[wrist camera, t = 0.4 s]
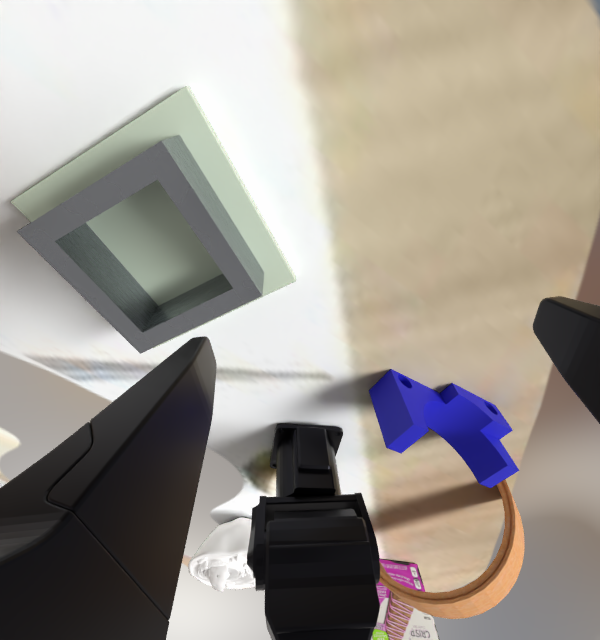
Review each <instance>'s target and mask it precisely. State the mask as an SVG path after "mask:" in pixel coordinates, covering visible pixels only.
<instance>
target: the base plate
mask: <svg viewBox="0 0 600 640" xmlns="http://www.w3.org/2000/svg"><path fill="white" fill-rule="evenodd" d="M177 135H180V136H181V138H182V139H183V141H184V143H185V144H186V146H187V148H188V149H189V151H190V152H191V154H192V156H193V157H194V159H195V161H196V162H197V164H198V165H199V167H200V169H201V170H202V172H203V174H204V175H205V177H206V178H207V180H208V182H209V183H210V185H211V187H212V188H213V190H214V191H215V193H216V195H217V196H218V198H219V199H220V201H221V203H222V204H223V206H224V208H225V209H226V211H227V212H228V214H229V216H230V217H231V219H232V221H233V222H234V224H235V225H236V227H237V229H238V230H239V232H240V234H241V235H242V237H243V238H244V240H245V242H246V243H247V245H248V247H249V248H250V250H251V251H252V253H253V255H254V256H255V258H256V260H257V261H258V263H259V264H260V266H261V268H262V269H263V271H264V283H263V294H262V296H261V297H263V296H265V295H268V294H270V293H272V292H274V291H276V290H278V289H280V288H282V287H285V286H287V285H289V284H291V283H293V282H295V281H296V278H295V274H294V273H293V271H292V269H291V267H290V266H289V264H288V262H287V260H286V258H285V257H284V255H283V253H282V251H281V249H280V248H279V246H278V244H277V242H276V241H275V239H274V237H273V235H272V233H271V232H270V230H269V228H268V226H267V224H266V223H265V221H264V219H263V217H262V216H261V214H260V212H259V210H258V208H257V207H256V205H255V203H254V201H253V200H252V198H251V196H250V194H249V192H248V191H247V189H246V187H245V185H244V183H243V182H242V180H241V178H240V176H239V175H238V173H237V171H236V169H235V167H234V166H233V164H232V162H231V160H230V158H229V157H228V155H227V153H226V151H225V150H224V148H223V146H222V144H221V142H220V141H219V139H218V137H217V135H216V133H215V132H214V130H213V128H212V126H211V125H210V123H209V121H208V119H207V117H206V116H205V114H204V112H203V110H202V109H201V107H200V105H199V103H198V101H197V100H196V98H195V96H194V94H193V92H192V91H191V89H190V87H187V86H185V87H184V88H182V89H181V90H179V91H178V92H176V93H175V94H173V95H171V96H170V97H168V98H167V99H165V100H164V101H162V102H161V103H159V104H158V105H156V106H155V107H153V108H152V109H150V110H149V111H147V112H146V113H144V114H143V115H141V116H140V117H138V118H137V119H135V120H133V121H132V122H130V123H129V124H127V125H126V126H124V127H123V128H121V129H120V130H118V131H117V132H115V133H114V134H112V135H111V136H109V137H108V138H106V139H105V140H103V141H102V142H100V143H98V144H97V145H95V146H94V147H92V148H91V149H89V150H88V151H86V152H85V153H83V154H82V155H80V156H79V157H77V158H76V159H74V160H73V161H71V162H70V163H68V164H67V165H65V166H64V167H62V168H60V169H59V170H57V171H56V172H54V173H53V174H51V175H50V176H48V177H47V178H45V179H44V180H42V181H41V182H39V183H38V184H36V185H35V186H33V187H32V188H30V189H29V190H27V191H25V192H24V193H22V194H21V195H19V196H18V197H16V198H15V199H13V200H12V201H11V202H12V203H13V204H14V206H15V207H16V208H17V209H18V210H19V211H20V212H21V213H22V214H23V215H24V216H25V217H26V218H27V219H28V220H29V221H30V222H33V221H34V220H36V219H37V218H39V217H41V216H42V215H44V214H45V213H47V212H49V211H50V210H52V209H53V208H55V207H57V206H58V205H60V204H61V203H63V202H65V201H66V200H68V199H69V198H71V197H72V196H74V195H76V194H77V193H79V192H80V191H82V190H84V189H85V188H87V187H88V186H90V185H92V184H93V183H95V182H96V181H98V180H100V179H101V178H103V177H104V176H106V175H108V174H109V173H111V172H112V171H114V170H115V169H117V168H119V167H120V166H122V165H123V164H125V163H127V162H128V161H130V160H131V159H133V158H135V157H136V156H138V155H139V154H141V153H143V152H144V151H146V150H147V149H149V148H151V147H152V146H154V145H155V144H157V143H158V142H160V141H162V140H165V139H168V138H171V137H174V136H177ZM86 224H87V225H88V226H89V227H90V228H91V229H92V230H93V232H94V233H95V234H96V235H97V236H98V237H99V238H100V240H101V241H102V242H103V243H104V244H105V245H106V246H107V248H108V249H109V250H110V251H111V252H112V253H113V254H114V256H115V257H116V258H117V259H118V260H119V261H120V262H121V264H122V265H123V266H124V267H125V268H126V269H127V270H128V272H129V273H130V274H131V275H132V276H133V277H134V278H135V280H136V281H137V282H138V283H139V284H140V285H141V286H142V288H143V289H144V290H145V291H146V292H147V293H148V294H149V296H150V297H151V298H152V299H153V300H154V301H155V302H156V304H157V305H158V306H159V305H161V304H163V303H165V302H167V301H169V300H171V299H173V298H175V297H177V296H179V295H181V294H183V293H185V292H187V291H189V290H191V289H193V288H195V287H197V286H199V285H201V284H203V283H205V282H207V281H209V280H211V279H213V278H215V277H217V276H219V275H221V274H223V273H222V271H221V270H220V269H219V267H218V266H217V264H216V263H215V261H214V260H213V258H212V257H211V256H210V254H209V253H208V251H207V250H206V248H205V247H204V246H203V244H202V243H201V241H200V240H199V238H198V237H197V235H196V234H195V233H194V231H193V230H192V228H191V227H190V225H189V224H188V223H187V221H186V220H185V218H184V217H183V215H182V214H181V213H180V211H179V210H178V208H177V207H176V205H175V204H174V202H173V201H172V200H171V198H170V197H169V195H168V194H167V192H166V191H165V190H164V188H163V187H162V185H161V184H160V182H159V181H158V180H156V181H154V182H153V183H151V184H149V185H148V186H146V187H144V188H143V189H141V190H139V191H138V192H136V193H134V194H133V195H131V196H129V197H128V198H126V199H124V200H123V201H121V202H119V203H118V204H116V205H114V206H113V207H111V208H109V209H108V210H106V211H104V212H103V213H101V214H99V215H98V216H96V217H94V218H93V219H91V220H89V221H88V222H86ZM261 297H259V298H261ZM259 298H257V299H259ZM257 299H255V300H257ZM255 300H253V301H255ZM253 301H251V302H253ZM251 302H249V303H251ZM246 304H248V303H246ZM246 304H244V305H246ZM244 305H242V306H244ZM242 306H240V307H242ZM240 307H238V308H240ZM238 308H236V309H238ZM236 309H234V310H236ZM234 310H232V311H234ZM230 312H231V311H230ZM227 313H229V312H227ZM227 313H225V314H227ZM225 314H223V315H225ZM223 315H221V316H223ZM221 316H219V317H221ZM219 317H217V318H219ZM217 318H215V319H217ZM215 319H213V320H215ZM210 321H212V320H210ZM210 321H208V322H210ZM208 322H206V323H208ZM206 323H204V324H206ZM204 324H202V325H204ZM202 325H200V326H202ZM200 326H198V327H200ZM198 327H196V328H198ZM194 329H195V328H194ZM191 330H193V329H191ZM191 330H189V331H191ZM189 331H187V332H189ZM187 332H185V333H187ZM185 333H183V334H185ZM183 334H181V335H183ZM181 335H179V336H181ZM177 337H178V336H177ZM174 338H176V337H174ZM174 338H172V339H174ZM172 339H170V340H172ZM170 340H168V341H170ZM168 341H166V342H168ZM166 342H164V343H166ZM164 343H162V344H164ZM160 345H161V344H160ZM157 346H159V345H157ZM157 346H155V347H157ZM155 347H153V348H155Z"/></svg>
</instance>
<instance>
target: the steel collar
mask: <svg viewBox="0 0 600 640" xmlns="http://www.w3.org/2000/svg"><path fill="white" fill-rule="evenodd" d="M156 180H158V181H159V182H160V184H161V185H162V187H163V188H164V190H165V191H166V192H167V194H168V195H169V197H170V198H171V200H172V201H173V202H174V204H175V205H176V207H177V208H178V210H179V211H180V213H181V214H182V215H183V217H184V218H185V220H186V221H187V223H188V224H189V225H190V227H191V228H192V230H193V231H194V233H195V234H196V235H197V237H198V238H199V240H200V241H201V243H202V244H203V246H204V247H205V248H206V250H207V251H208V253H209V254H210V256H211V257H212V258H213V260H214V261H215V263H216V264H217V266H218V267H219V269H220V270H221V271H222V273H223V274H221V275H219V276H217V277H215V278H213V279H211V280H209V281H207V282H205V283H203V284H201V285H199V286H197V287H195V288H193V289H191V290H189V291H187V292H185V293H183V294H181V295H179V296H177V297H175V298H173V299H171V300H169V301H167V302H165V303H163V304H161V305H159V306H158V305H157V304H156V302H155V301H154V300H153V299H152V298H151V297H150V296H149V294H148V293H147V292H146V291H145V290H144V289H143V288H142V286H141V285H140V284H139V283H138V282H137V281H136V280H135V278H134V277H133V276H132V275H131V274H130V273H129V272H128V270H127V269H126V268H125V267H124V266H123V265H122V264H121V262H120V261H119V260H118V259H117V258H116V257H115V256H114V254H113V253H112V252H111V251H110V250H109V249H108V248H107V246H106V245H105V244H104V243H103V242H102V241H101V240H100V238H99V237H98V236H97V235H96V234H95V233H94V232H93V230H92V229H91V228H90V227H89V226H88V225H87V224H86V222H88V221H89V220H91V219H93V218H94V217H96V216H98V215H99V214H101V213H103V212H104V211H106V210H108V209H109V208H111V207H113V206H114V205H116V204H118V203H119V202H121V201H123V200H124V199H126V198H128V197H129V196H131V195H133V194H134V193H136V192H138V191H139V190H141V189H143V188H144V187H146V186H148V185H149V184H151V183H153V182H154V181H156ZM17 232H18V233H19V234H20V235H21V236H22V237H23V238H24V239H25V240H26V241H27V242H28V243H29V244H30V245H31V246H32V247H33V248H34V249H35V250H36V251H37V252H38V253H39V254H40V255H41V256H42V257H43V258H44V259H45V260H46V261H47V262H48V263H49V264H50V265H51V266H52V267H53V268H54V269H55V270H56V271H57V272H58V273H59V274H60V275H61V276H62V277H63V278H64V279H65V280H66V281H68V282H69V283H70V284H71V285H72V286H73V287H74V288H75V289H76V290H77V291H78V292H79V293H80V294H81V295H82V296H83V297H84V298H85V299H86V300H87V301H88V302H89V303H90V304H91V305H92V306H93V307H94V308H95V309H96V310H97V311H98V312H99V313H100V314H101V315H102V316H103V317H104V318H105V319H106V320H107V321H108V322H109V323H110V324H111V325H112V326H113V327H114V328H115V329H116V330H117V331H118V332H119V333H120V334H121V335H122V336H123V337H124V338H125V339H126V340H127V341H128V342H129V343H130V344H131V345H132V346H133V347H134V348H135V349H136V350H137V351H138V352H139V353H140V354H141V353H143V352H145V351H147V350H149V349H151V348H153V347H155V346H157V345H160V344H162V343H164V342H166V341H168V340H170V339H172V338H174V337H177V336H179V335H181V334H183V333H185V332H187V331H189V330H191V329H194V328H196V327H198V326H200V325H202V324H204V323H206V322H208V321H210V320H213V319H215V318H217V317H219V316H221V315H223V314H225V313H227V312H230V311H232V310H234V309H236V308H238V307H240V306H242V305H244V304H246V303H249V302H251V301H253V300H255V299H257V298H259V297H261V296H262V294H263V283H264V271H263V269H262V268H261V266H260V264H259V263H258V261H257V260H256V258H255V256H254V255H253V253H252V251H251V250H250V248H249V247H248V245H247V243H246V242H245V240H244V238H243V237H242V235H241V234H240V232H239V230H238V229H237V227H236V225H235V224H234V222H233V221H232V219H231V217H230V216H229V214H228V212H227V211H226V209H225V208H224V206H223V204H222V203H221V201H220V199H219V198H218V196H217V195H216V193H215V191H214V190H213V188H212V187H211V185H210V183H209V182H208V180H207V178H206V177H205V175H204V174H203V172H202V170H201V169H200V167H199V165H198V164H197V162H196V161H195V159H194V157H193V156H192V154H191V152H190V151H189V149H188V148H187V146H186V144H185V143H184V141H183V139H182V138H181V136H180V135H177V136H174V137H171V138H168V139H165V140H162V141H160V142H158V143H157V144H155V145H154V146H152V147H151V148H149V149H147V150H146V151H144V152H143V153H141V154H139V155H138V156H136V157H135V158H133V159H131V160H130V161H128V162H127V163H125V164H123V165H122V166H120V167H119V168H117V169H115V170H114V171H112V172H111V173H109V174H108V175H106V176H104V177H103V178H101V179H100V180H98V181H96V182H95V183H93V184H92V185H90V186H88V187H87V188H85V189H84V190H82V191H80V192H79V193H77V194H76V195H74V196H72V197H71V198H69V199H68V200H66V201H65V202H63V203H61V204H60V205H58V206H57V207H55V208H53V209H52V210H50V211H49V212H47V213H45V214H44V215H42V216H41V217H39V218H37V219H36V220H34V221H33V222H31V223H29V224H28V225H26V226H25V227H23V228H22V229H20V230H18V231H17Z"/></svg>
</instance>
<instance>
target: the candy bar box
mask: <svg viewBox="0 0 600 640" xmlns="http://www.w3.org/2000/svg"><path fill="white" fill-rule="evenodd" d="M379 560H380V562H381V564H382V566H383V567H384V569H385V570H386V572H387V573H388V574H389V575H390V576H391V578H392V579H393V580H394V581H396V582H398V583H400V584H402V585H403V586H405V587H408V588H411V589H414V590H417V591H422V592H425V589H424V586H423V582H422V579H421V575H420V572H419V569H418V565H417V564H412V563H404V562H397V561H390V560H382V559H379ZM376 587H377V593H378V598H379V602H380V610H379V615H378V620H377V624H376V627H375V628H374V630H373V634H372V637H371V640H439V636H438V633H437V630H436V626H435V623H434V619H433V616H432V615H429V614H427V613H424V612H421V611H419V610H417V609H415V608H414V607H412V606H410V605H409V604H407V603H405V602H404V601H403V600H402V599H400V598H399V597H398V596H397V595H395V594H394V593H393V592H392V591H390V590H389V589H388V588H387V587H386V586H384V585H383V584H382V583H381V582H380V581H379V583H378V584H376Z"/></svg>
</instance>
